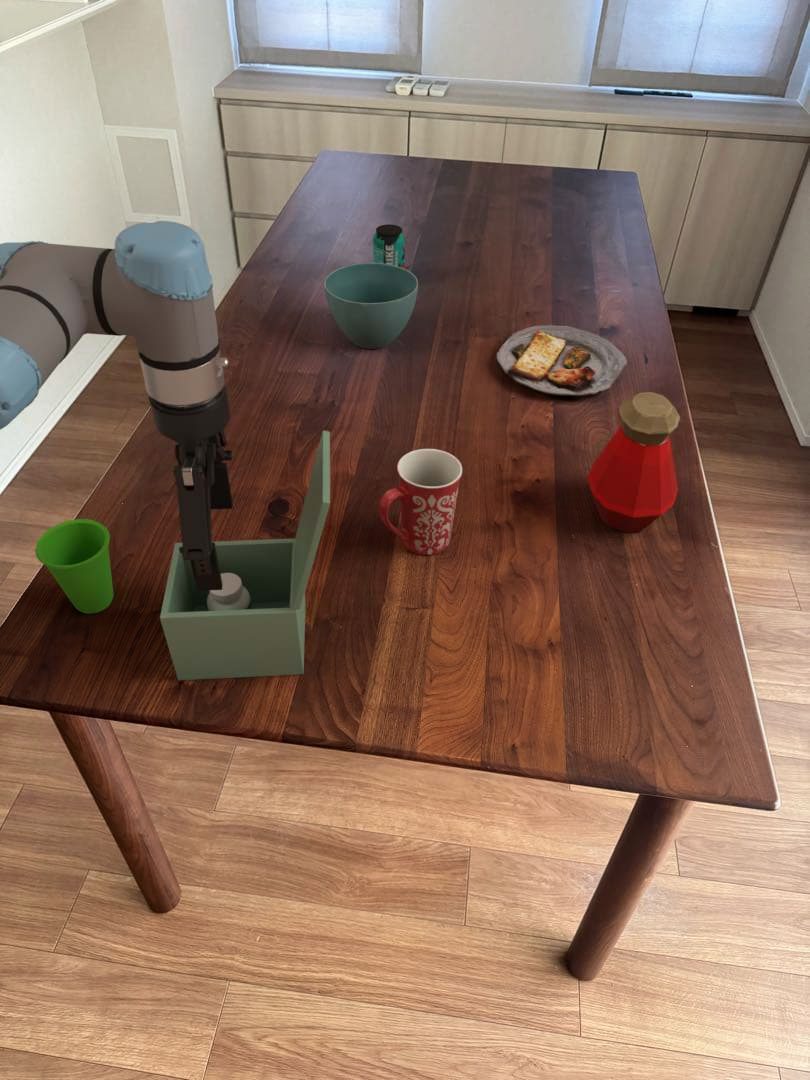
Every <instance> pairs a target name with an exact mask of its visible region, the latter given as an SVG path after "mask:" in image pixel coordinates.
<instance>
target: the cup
mask: <svg viewBox="0 0 810 1080" xmlns="http://www.w3.org/2000/svg"><path fill="white" fill-rule="evenodd" d="M110 539H111V535H110V531H109V530H108V529H107V527H106V526H105V525H103V524H102V523H101V522H98V521H96V520H94V519H89V518H88V519H87V518H76V519H70V520H67V521H63V522H59V523H58V524H55V525H54V526H52V527H51V528H49V529H47V530H46V531H45V532H44V533H42V535H41V536H40V537H39V539H38V540H37V542H36V545H35V557H36V558H37V560H38V561H39V562H40V563H41V564H42V565H44V566H45V567H46V568H47V570H48V572H50V574H51V576H53V578H54V579H55V581H56V582H57V584H58V585H59V587H60V588H61V590H62V591H63V592H64V594H65V595H66V597H67V598H68V600H69V601H70V603H71V604H72V605H73V607H74V608H75V609H76V610H77V611H79V612H81V613H82V614H88V615H89V614H96V613H97V614H98V613H100V612H103V611H104V610H106V609H108V607H109V606H110V605H111V603H112V601H113V598H114V586H113V576H112V567H111V559H110V558H111V557H110V551H109V550H110V549H109V548H110V547H109V544H110Z"/></svg>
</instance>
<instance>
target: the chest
mask: <svg viewBox="0 0 810 1080" xmlns="http://www.w3.org/2000/svg"><path fill="white" fill-rule="evenodd" d="M214 542H215V546H216V552H217V557H218V563H219V568H220V573H221V574H222V573H233V574H236V575H237V576H239V577H240V579H241V581H242V585H243V587H245V588H246V589H247V591H248V592H249V595H250V599H251V604H252V609H245V610H222V611H208V607H207V598H208V595H209V594H210V591H209V590H203V591H197V588H196V583H195V579H194V574H193V570H192V565H191V561H190V560H187V561H184V559H183V555H182V553H180V552H179V548H180V547H182V542H175V543H174V546H173V551H172V557H171V561H170V566H169V571H168V575H167V581H166V586H165V590H164V595H163V602H162V606H161V611H160V616H159V620H160V623H161V627H162V631H163V634H164V637H165V640H166V643H167V647H168V650H169V654H170V658H171V661H172V664H173V667H174V670H175V671H174V672H175V674H176V678H177V680H178V681H194V680H195V681H196V680H215V679H233V678H235V679H236V678H255V677H276V676H296V675H300V676H301V675H304V674H305V638H306V637H305V636H306V592H305V593H304V596H303V600H302V603H301V607H300V610H297V609H293V593H294V568H295V544H296V538H274V539H246V540H244V539H243V540H221V541H219V540H218V541H216V540H215V541H214Z"/></svg>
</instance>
